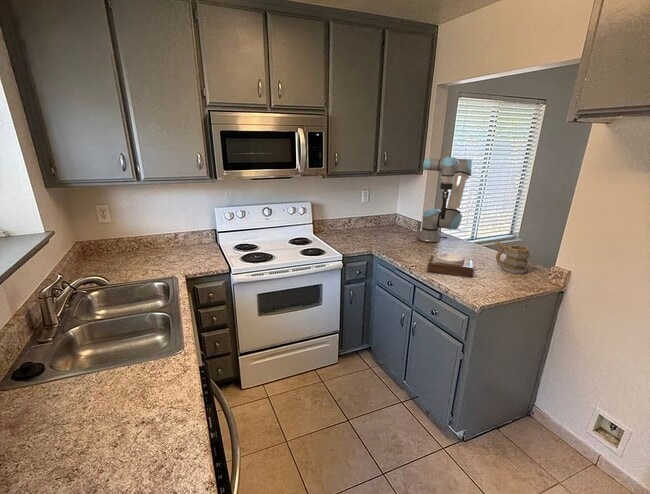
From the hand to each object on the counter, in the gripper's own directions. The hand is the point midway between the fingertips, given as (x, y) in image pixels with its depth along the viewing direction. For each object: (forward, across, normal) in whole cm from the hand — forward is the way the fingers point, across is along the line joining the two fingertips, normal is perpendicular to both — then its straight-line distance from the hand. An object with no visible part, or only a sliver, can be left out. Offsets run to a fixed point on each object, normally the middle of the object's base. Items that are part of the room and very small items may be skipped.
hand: (442, 218), depth 236 cm
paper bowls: (+22, +34, +8) cm, 41 cm away
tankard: (+23, +20, +41) cm, 51 cm away
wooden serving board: (+22, +35, +8) cm, 42 cm away
